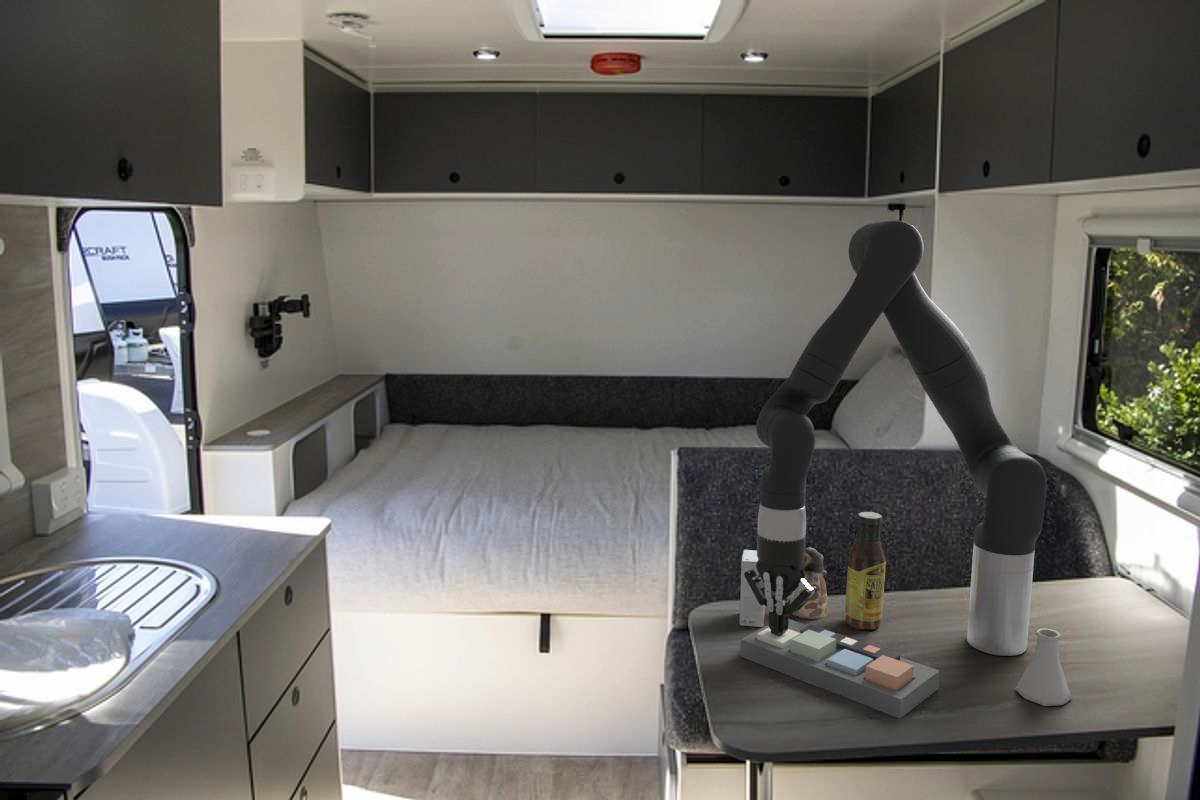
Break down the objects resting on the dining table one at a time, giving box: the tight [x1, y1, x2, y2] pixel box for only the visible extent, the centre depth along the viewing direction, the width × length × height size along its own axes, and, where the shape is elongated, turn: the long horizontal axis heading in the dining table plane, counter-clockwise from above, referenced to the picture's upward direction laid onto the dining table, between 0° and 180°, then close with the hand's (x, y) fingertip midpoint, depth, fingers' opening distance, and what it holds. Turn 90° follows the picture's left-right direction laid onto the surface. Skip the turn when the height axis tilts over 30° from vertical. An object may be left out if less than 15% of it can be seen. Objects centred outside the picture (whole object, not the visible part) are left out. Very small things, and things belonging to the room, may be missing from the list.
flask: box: [1014, 627, 1072, 707], centre depth 142 cm, size 7×7×10 cm
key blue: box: [827, 649, 873, 676], centre depth 147 cm, size 5×5×2 cm
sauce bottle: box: [844, 511, 887, 631], centre depth 166 cm, size 6×6×20 cm
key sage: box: [791, 630, 836, 662], centre depth 151 cm, size 5×5×2 cm
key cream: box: [757, 628, 801, 649], centre depth 156 cm, size 5×5×2 cm
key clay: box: [865, 655, 914, 692], centre depth 142 cm, size 5×5×2 cm
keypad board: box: [739, 618, 941, 720], centre depth 150 cm, size 12×28×4 cm, turn 45°
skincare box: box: [739, 549, 766, 628], centre depth 169 cm, size 6×4×12 cm
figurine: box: [792, 546, 829, 620], centre depth 172 cm, size 7×7×12 cm
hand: (778, 633), depth 155 cm, fingers closed
